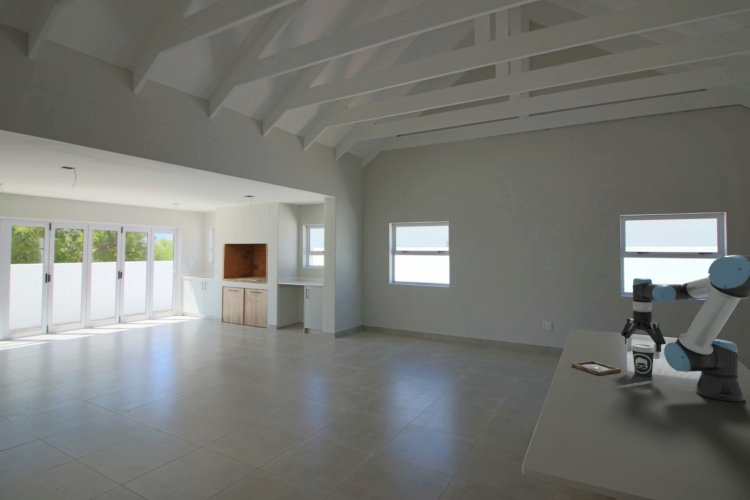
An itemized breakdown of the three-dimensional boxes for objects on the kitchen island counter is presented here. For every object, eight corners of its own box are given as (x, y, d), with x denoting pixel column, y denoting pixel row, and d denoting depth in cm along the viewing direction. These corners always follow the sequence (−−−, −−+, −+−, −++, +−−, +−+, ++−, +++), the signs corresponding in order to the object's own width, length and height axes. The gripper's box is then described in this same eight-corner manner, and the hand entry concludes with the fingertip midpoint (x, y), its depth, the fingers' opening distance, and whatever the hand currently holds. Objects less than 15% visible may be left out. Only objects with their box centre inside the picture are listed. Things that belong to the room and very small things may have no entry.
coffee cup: (660, 380, 184) (660, 348, 184) (639, 380, 184) (639, 348, 184) (646, 374, 193) (646, 343, 193) (627, 374, 193) (626, 343, 194)
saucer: (617, 371, 194) (617, 369, 194) (597, 374, 190) (597, 372, 190) (594, 364, 207) (594, 362, 207) (575, 367, 202) (575, 365, 202)
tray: (620, 374, 193) (620, 368, 193) (599, 377, 188) (599, 371, 188) (592, 365, 208) (592, 360, 208) (572, 368, 203) (571, 363, 203)
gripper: (675, 314, 178) (675, 361, 179) (623, 306, 202) (623, 347, 202) (663, 315, 176) (663, 362, 176) (612, 307, 199) (613, 349, 199)
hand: (642, 354), depth 189 cm, fingers open, 13 cm apart
